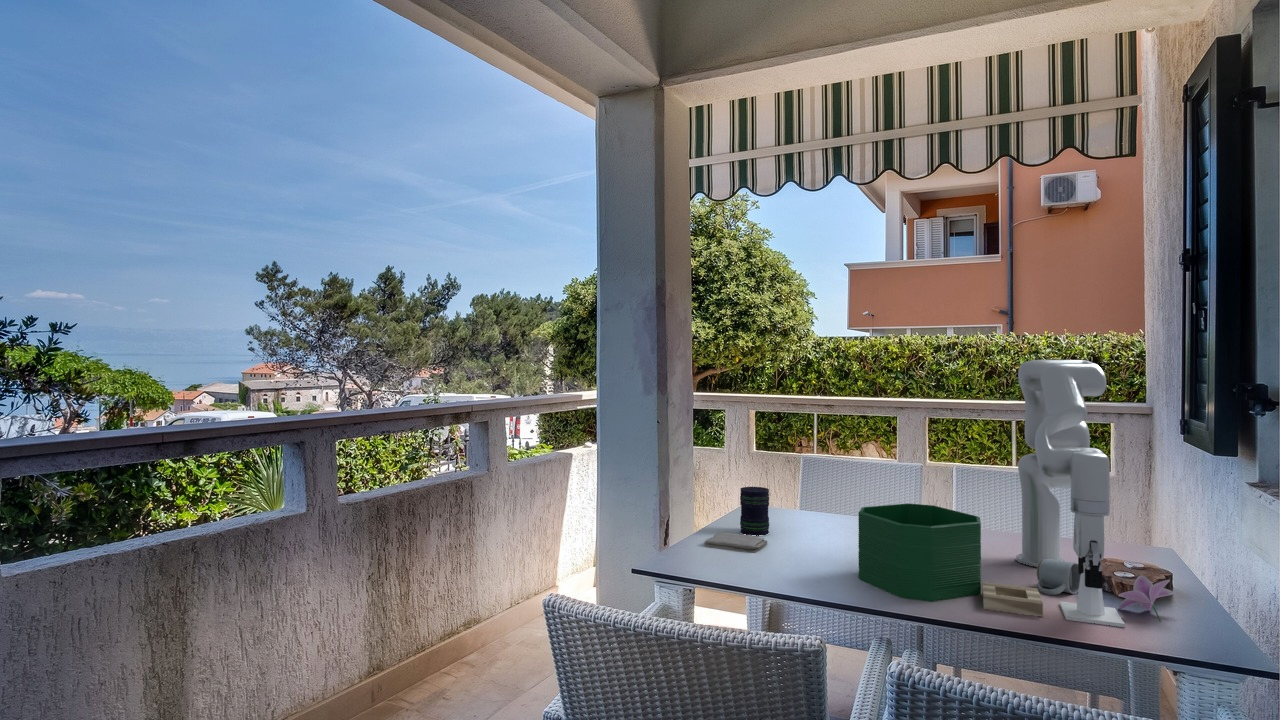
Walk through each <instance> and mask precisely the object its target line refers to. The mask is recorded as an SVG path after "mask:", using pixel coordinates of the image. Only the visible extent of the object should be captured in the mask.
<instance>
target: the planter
mask: <svg viewBox="0 0 1280 720" xmlns="http://www.w3.org/2000/svg"><path fill="white" fill-rule="evenodd" d="M857 525H858V528H857V529H858V538H857V540H858V541H857V542H858V545H857V547H858V551H857V552H858V554H857V555H858V580H859V581H862V582H864V583H866V584H868V585H870V586H873V587H875V588H878V589H880V590H882V591H884V592H886V593H889V594H891V595H893V596H895V597H898V598H899V599H900V598H901V599H909V600H916V601H921V602H922V601H923V602H930V603H933V602H939V601H946V600H952V599H959V598H965V597H973V595H974V596H979V595H982V583H981V582H982V562H981V561H982V546H981V545H982V543H981V541H982V532H981V531H982V523H981V517H980V516H978V515H975V514H974V515H973V514H971V513H970V514H969V513H965V512H961V511H957V510H953V509H949V508H946V507H945V508H944V507H941V506H937V505H932V504H920V503H899V504H898V503H896V504H887V505H886V504H885V505H884V504H883V505H873V506H862V507H861V508H860V510H859V511H858V524H857Z"/></svg>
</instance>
